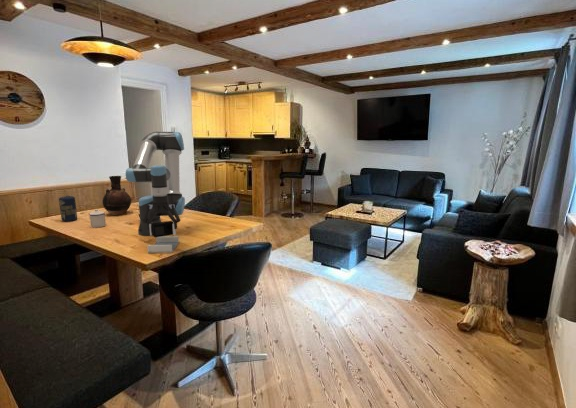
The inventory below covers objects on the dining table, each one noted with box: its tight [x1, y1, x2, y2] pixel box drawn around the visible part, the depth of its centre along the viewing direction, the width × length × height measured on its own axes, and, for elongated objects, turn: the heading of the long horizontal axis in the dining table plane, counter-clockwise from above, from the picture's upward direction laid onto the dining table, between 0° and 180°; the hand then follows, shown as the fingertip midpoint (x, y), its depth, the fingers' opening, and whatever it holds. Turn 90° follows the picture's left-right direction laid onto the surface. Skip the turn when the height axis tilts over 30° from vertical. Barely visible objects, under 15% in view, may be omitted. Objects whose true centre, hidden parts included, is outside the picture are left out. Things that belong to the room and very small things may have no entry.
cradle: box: [146, 235, 180, 254], centre depth 172 cm, size 12×16×4 cm
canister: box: [58, 195, 78, 222], centre depth 225 cm, size 10×10×18 cm
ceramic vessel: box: [102, 175, 132, 216], centre depth 244 cm, size 21×18×30 cm
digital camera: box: [152, 220, 174, 239], centre depth 171 cm, size 10×5×7 cm, turn 125°
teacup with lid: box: [88, 208, 107, 229], centre depth 212 cm, size 12×9×12 cm
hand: (163, 235), depth 171 cm, fingers closed on digital camera, 11 cm apart
